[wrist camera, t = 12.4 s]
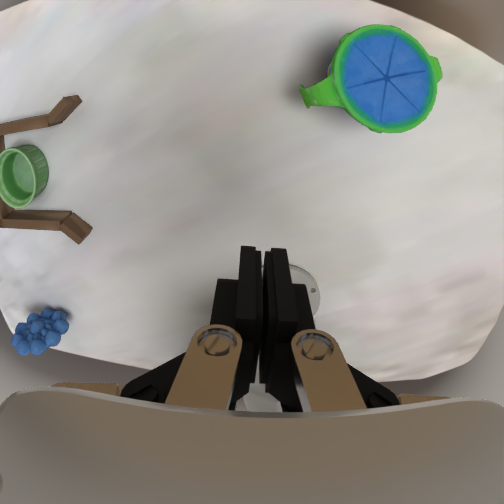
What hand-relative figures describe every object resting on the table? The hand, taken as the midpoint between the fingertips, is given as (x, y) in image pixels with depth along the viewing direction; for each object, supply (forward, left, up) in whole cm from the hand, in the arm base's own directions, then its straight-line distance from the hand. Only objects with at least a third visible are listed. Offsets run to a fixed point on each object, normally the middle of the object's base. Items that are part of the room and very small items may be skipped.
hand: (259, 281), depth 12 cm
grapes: (-31, +36, -27) cm, 55 cm away
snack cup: (+10, -11, -27) cm, 31 cm away
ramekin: (-3, +33, -27) cm, 43 cm away
